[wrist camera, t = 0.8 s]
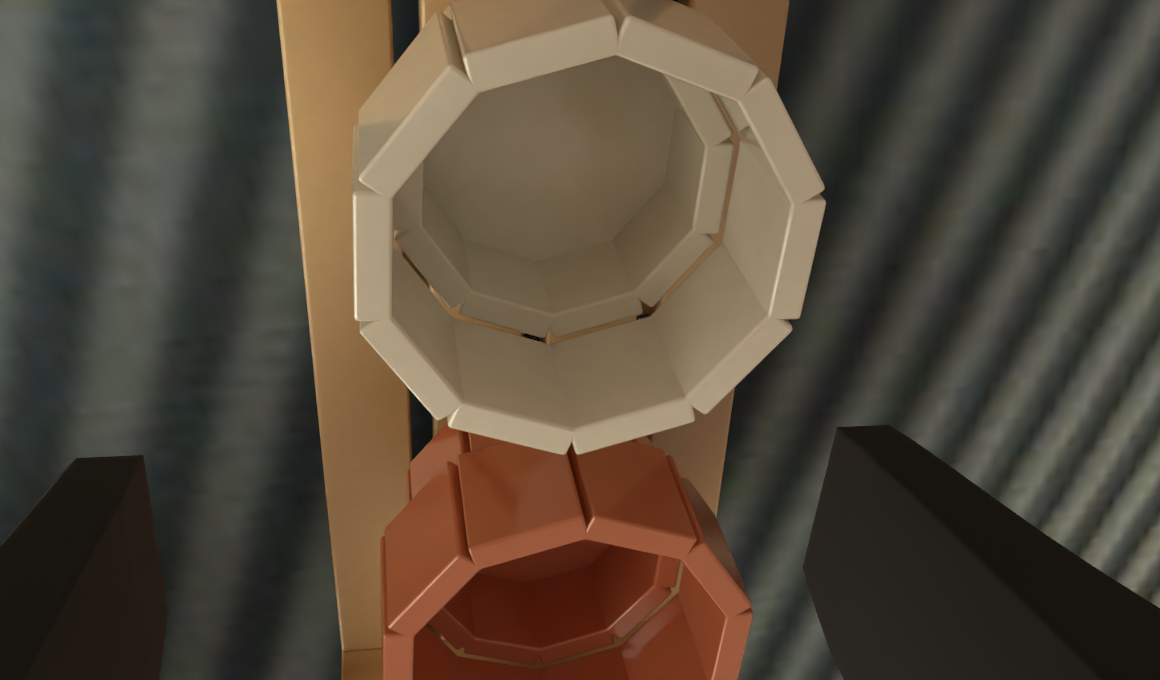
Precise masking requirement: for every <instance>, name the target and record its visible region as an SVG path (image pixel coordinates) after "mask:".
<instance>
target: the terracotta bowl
mask: <svg viewBox="0 0 1160 680" xmlns="http://www.w3.org/2000/svg"><path fill="white" fill-rule="evenodd" d="M681 560H682V562H683V563H684V566H683V571H682V576H681V581H680V587H679V592H678V593H677V594H676V595H675V596H674V597H673V598H672V599H671V600H670V601H668V602H667V603H666V604H665V605H664V606H663V607H662V608H661V609H660V610H659V611H658V612H656V613H655V614H654V615H653V616H652V617H651V618H650V619H649V620H648V621H647V622H646V623H644V624H643V625H642V626H641V627H640V628H639V629H638V630H637V631H636V632H635V633H634V634H632V635H631V636H630V637H629V638H628V639H627V640H626V641H625V642H624V643H623V644H622V645H621V646H617V647H614V648H611V649H607V650H604V651H600V652H597V653H593V654H590V655H586V656H583V657H579V658H576V659H573V660H569V661H566V662H562V663H559V664H555V665H552V666H548V667H545V668H541V669H533V668H527V667H521V666H515V665H509V664H503V663H497V662H491V661H485V660H479V659H473V658H467V657H461V656H457V655H456V654H455V653H454V652H453V651H452V650H451V649H450V648H449V647H448V646H447V645H446V644H445V643H444V642H443V641H442V640H440V639H439V638H438V637H437V636H436V635H435V634H434V633H433V632H432V631H431V630H430V629H429V628H428V627H427V626H426V624H427V623H429V624H430V625H431V626H432V627H433V628H434V629H435V630H436V631H437V632H438V633H440V634H441V635H442V636H443V637H444V638H445V639H446V640H447V641H448V642H449V643H450V644H451V645H452V646H453V647H454V648H455V649H456V650H459V649H461V648H462V647H463V650H464V653H465V654H470V655H476V656H482V657H488V658H494V659H500V660H506V661H512V662H518V663H524V664H530V665H534V664H535V663H536V661H537V659H538V657H539V659H540V661H541V663H542V664H546V663H550V662H553V661H557V660H560V659H564V658H567V657H570V656H574V655H577V654H581V653H584V652H588V651H591V650H595V649H598V648H602V647H605V646H609V645H612V644H614V638H613V636H615V637H617V638H619V639H623V638H624V637H625V636H626V635H627V634H628V633H629V632H630V631H631V630H633V629H634V628H635V627H636V626H637V625H638V624H639V623H640V622H641V621H642V620H643V619H645V618H646V617H647V616H648V615H649V614H650V613H651V612H652V611H653V610H654V609H655V608H656V607H658V606H659V605H660V604H661V603H662V602H663V601H664V600H665V599H666V598H667V597H668V596H669V595H671V593H672V591H671V587H675V586H676V583H677V578H678V573H679V567H680V562H681ZM751 607H752V605H751V601H750V599H749V596H748V594H747V591H746V589H745V587H744V584H743V582H742V579H741V577H740V575H739V572H738V570H737V567H736V565H735V562H734V560H733V558H732V555H731V553H730V550H729V548H728V546H727V543H726V541H725V538H724V536H723V534H722V531H721V529H720V526H719V524H718V522H717V519H716V517H715V515H714V513H713V512H712V510H711V509H710V508H709V506H708V505H707V503H706V502H705V501H704V499H703V498H702V497H701V495H700V494H699V492H698V491H697V490H696V488H695V487H694V486H693V484H692V483H691V481H690V480H689V479H688V477H687V476H686V474H685V473H684V472H683V470H682V469H681V468H680V466H679V465H678V463H677V462H676V461H675V459H674V458H673V456H671V455H667V456H665V454H664V451H663V450H662V449H660V448H656V447H654V445H653V444H652V443H651V441H650V440H649V439H648V437H647V436H643V437H640V438H636V439H633V440H629V441H626V442H622V443H619V444H615V445H612V446H608V447H605V448H601V449H598V450H594V451H591V452H587V453H584V454H580V455H577V454H576V453H575V451H574V447H573V444H572V443H571V445H570V447H569V449H568V451H567V452H566V454H565V455H560V454H556V453H552V452H548V451H544V450H540V449H536V448H531V447H527V446H523V445H519V444H515V443H511V442H507V441H503V440H498V439H494V438H490V437H486V436H482V435H478V434H474V433H469V432H465V431H461V430H457V429H453V428H450V427H449V426H448V422H447V423H446V424H445V425H444V426H443V427H442V429H441V430H440V431H439V432H438V433H437V434H436V435H435V436H434V437H433V438H432V439H431V441H430V442H429V443H428V444H427V445H426V446H425V447H424V448H423V449H422V450H421V451H420V453H419V454H418V455H417V456H416V457H415V458H414V459H413V460H412V461H411V462H410V469H409V470H407V472H406V506H405V507H404V508H403V509H402V510H401V511H400V513H399V514H398V515H397V516H396V517H395V518H394V519H393V520H392V521H391V522H390V523H389V524H388V525H387V526H386V528H385V536H383V537H381V539H380V623H381V665H382V680H738V676H739V672H740V668H741V664H742V659H743V655H744V651H745V647H746V643H747V639H748V635H749V631H750V627H751V622H752V618H753V612H752V609H751Z"/></svg>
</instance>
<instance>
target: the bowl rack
mask: <svg viewBox="0 0 1160 680" xmlns="http://www.w3.org/2000/svg"><path fill="white" fill-rule="evenodd" d="M452 1H456V0H418V16H419V33H420V32H421V30H422V29H423V28H424V26H425V25H426V24H427V23H428V21H429V20H430V19H431V17H432V16H433V15H434V14H435V13H436V12H437V11H440V12H442V13H443V12H444V11H445V9H446V8H447V7H448V6H449V4H450V3H451V2H452ZM789 1H790V0H677V3H680V4H682V5H685V6H687V7H689V8H692V9H694V10H697V11H699V12H702V13H704V14H706V15H708V16H709V17H710V18H711V19H712V20H713V21H714V22H715V23H716V25H718V26H720V27H721V28H722V29H723V30H724V31H725V32H726V33H727V34H728V35H729V36H730V37H731V38H732V39H733V40H734V41H735V43H736V44H737V45H738V46H739V47H740V48H741V49H742V50H743V51H744V52H745V53H746V54H747V55H748V56H749V57H750V58H751V59H752V60H753V61H754V62H755V63H756V64H757V65H758V66H759V67H760V68H761V69H762V70H763V71H764V72H765V73H766V74H767V75H768V76H769V77H770V78H771V80H772V82H773V84H774V86H775V88H776V90H777V86H778V79H779V72H780V65H781V57H782V50H783V43H784V36H785V29H786V22H787V15H788V8H789ZM276 2H277V11H278V21H279V31H280V41H281V51H282V61H283V71H284V81H285V91H286V101H287V111H288V121H289V131H290V141H291V151H292V161H293V171H294V181H295V191H296V201H297V211H298V221H299V231H300V241H301V251H302V261H303V271H304V281H305V291H306V301H307V311H308V321H309V331H310V341H311V351H312V361H313V371H314V381H315V390H316V400H317V410H318V420H319V430H320V440H321V450H322V460H323V470H324V480H325V490H326V500H327V510H328V520H329V530H330V540H331V550H332V560H333V570H334V580H335V590H336V600H337V610H338V620H339V630H340V640H341V648H342V675H341V680H382V665H381V623H380V539H381V537H383V536H385V528H386V526H387V525H388V524H389V523H390V522H391V521H392V520H393V519H394V518H395V517H396V516H397V515H398V514H399V513H400V511H401V510H402V509H403V508H404V507H405V506H406V472H407V470H409V469H410V462H411V461H412V460H413V457H412V435H411V414H410V392H409V388H408V387H407V386H406V385H405V384H404V383H403V382H402V380H401V379H400V378H399V377H398V376H397V375H396V374H395V372H394V371H393V370H392V369H391V368H390V367H389V366H388V365H387V363H386V362H385V361H384V360H383V359H382V358H381V357H380V355H379V354H378V353H377V352H376V351H375V350H374V349H373V347H372V346H371V345H370V344H369V343H368V342H367V341H366V340H365V338H364V337H363V336H362V335H361V334H360V331H359V321H356V320H355V318H354V301H353V224H352V159H353V127H354V125H356V124H358V112H359V110H360V108H361V107H362V106H363V104H364V103H365V102H366V101H367V99H368V98H369V97H370V95H371V94H372V93H373V92H374V90H375V89H376V88H377V87H378V85H379V84H380V83H381V81H382V80H383V79H384V78H385V76H386V75H387V74H388V72H389V71H390V70H391V69H392V67H393V66H394V44H393V22H392V1H391V0H276ZM713 95H714V97H715V99H716V101H717V103H718V104H719V106H720V108H721V110H722V112H723V114H724V116H725V117H726V119H727V121H728V123H729V125H730V127H731V128H732V130H733V135H732V136H731V137H729V138H730V139H731V140H732V142H733V143H734V145H735V149H734V154H733V160H732V166H731V171H730V177H729V182H728V188H727V194H726V199H725V205H724V211H723V216H722V222H721V228H720V232H719V233H718V234H710V235H711V237H712V238H713V240H714V243H713V245H712V246H711V247H710V248H709V249H708V250H707V251H706V252H705V253H704V254H703V255H702V256H701V257H700V258H699V259H698V260H697V262H696V263H695V264H694V265H693V266H692V267H691V268H690V269H689V270H688V271H687V272H686V273H685V274H684V275H683V276H682V277H681V278H680V279H679V280H678V281H677V282H676V283H675V285H674V286H673V287H672V288H671V289H670V290H669V291H668V292H667V293H666V294H665V295H664V296H663V297H662V298H661V299H660V300H659V301H658V302H657V303H656V304H655V305H654V306H653V307H652V308H651V307H649V306H647V305H646V304H644V303H643V302H642V301H641V304H642V309H643V312H642V314H640V315H650V316H651V315H652V314H653V313H654V312H655V311H656V310H657V309H658V308H659V307H660V306H661V305H662V303H663V302H664V301H665V300H666V299H667V298H668V297H669V296H670V295H671V294H672V293H673V292H674V291H675V290H676V289H677V288H678V287H679V286H680V285H681V284H682V283H683V282H684V281H685V280H686V278H687V277H688V276H689V275H690V274H691V273H692V272H693V271H694V270H695V269H696V268H697V267H698V266H699V265H700V264H701V263H702V262H703V261H704V260H705V259H706V258H707V257H708V256H709V254H710V253H711V252H712V251H713V250H714V249H715V248H716V247H717V246H718V245H719V244H720V243H721V242H722V241H723V235H724V230H725V224H726V219H727V213H728V207H729V202H730V196H731V191H732V185H733V180H734V174H735V168H736V163H737V157H738V152H739V146H740V141H741V140H740V138H739V137H738V135H737V133H736V131H735V129H734V127H733V125H732V124H731V122H730V120H729V118H728V116H727V114H726V113H725V111H724V109H723V107H722V105H721V103H720V101H719V100H718V98H717V96H716V94H715V93H713ZM393 245H394V246H395V247H396V248H397V250H398V251H399V252H400V253H401V255H402V256H403V257H404V258H405V260H406V261H407V262H408V263H409V265H410V266H411V267H412V268H413V270H414V271H415V272H416V273H417V274H418V276H419V277H420V278H421V279H422V281H423V282H424V283H425V284H426V286H427V287H428V288H429V289H430V291H431V292H432V293H433V294H434V296H435V297H436V298H437V299H438V301H439V302H440V303H441V304H442V305H443V307H444V308H445V309H446V310H447V312H448V313H449V314H450V315H451V317H453V318H457V319H461V320H464V321H468V322H471V323H475V324H478V325H482V326H486V327H489V328H493V329H496V330H500V331H504V332H507V333H511V334H514V335H518V336H521V337H523V333H522V332H519V331H515V330H512V329H508V328H505V327H501V326H497V325H494V324H490V323H487V322H483V321H480V320H476V319H472V318H469V317H465V316H462V315H460V314H459V313H458V307H457V306H455V307H453V308H449V307H448V306H447V305H446V304H445V302H444V301H443V300H442V299H441V297H440V296H439V295H438V294H437V292H436V291H435V290H434V289H433V287H432V286H431V285H430V284H429V283H428V281H427V280H426V279H425V278H424V276H423V275H422V274H421V273H420V271H419V270H418V269H417V268H416V266H415V265H414V264H413V263H412V261H411V260H410V259H409V258H408V256H407V255H406V254H405V253H404V251H403V250H402V249H401V248H400V246H399V245H398V244H397V243H396V241H395V237H394V230H393ZM635 320H637V316H634V317H630V318H626V319H623V320H619V321H616V322H612V323H609V324H605V325H602V326H598V327H594V328H591V329H587V330H584V331H580V332H577V333H573V334H570V335H566V336H563V337H559V338H555V337H554V336H553V334H552V331H551V327H550V329H549V332H548V334H547V336H546V337H545V338H540V342H543V343H547V344H553V343H557V342H560V341H564V340H567V339H571V338H574V337H578V336H581V335H585V334H589V333H592V332H596V331H599V330H603V329H606V328H610V327H613V326H617V325H621V324H624V323H628V322H631V321H635ZM734 389H735V387H734V388H733V389H732V390H731V391H730V392H729V393H728V394H727V395H726V396H725V397H724V398H723V399H722V400H721V401H720V402H719V403H718V404H717V405H716V406H715V407H714V408H713V409H712V410H711V411H710V412H709V413H708V414H703V413H701V412H700V411H698V410H697V409H695V408H694V407H693V408H694V413H695V421H694V422H693V423H689V424H685V425H682V426H678V427H675V428H671V429H668V430H664V431H661V432H657V433H654V434H650V435H647V437H648V439H649V440H650V441H651V443H652V444H653V445H654V447H656V448H660V449H662V450H663V451H664V454H665V456H667V455H671V456H673V458H674V459H675V461H676V462H677V463H678V465H679V466H680V468H681V469H682V470H683V472H684V473H685V474H686V476H687V477H688V479H689V480H690V481H691V483H692V484H693V486H694V487H695V488H696V490H697V491H698V492H699V494H700V495H701V497H702V498H703V499H704V501H705V502H706V503H707V505H708V506H709V508H710V509H711V510H712V512H713V513H714V515H715V517H716V516H717V509H718V502H719V495H720V488H721V481H722V474H723V467H724V460H725V453H726V446H727V439H728V432H729V425H730V418H731V411H732V403H733V396H734ZM446 423H447V416H446V417H445V418H443V419H441V420H436V419H435V418H434V417H433V416H432V433H433V437H434V436H435V435H436V434H437V433H438V432H439V431H440V430H441V429H442V427H443V426H444V425H445V424H446ZM683 566H684V563H683V562H682V560H681V562H680V567H679V573H678V578H677V583H676V586H675V587H671V591H672V593H671V595H669V596H668V597H667V598H666V599H665V600H664V601H663V602H662V603H661V604H660V605H659V606H658V607H656V608H655V609H654V610H653V611H652V612H651V613H650V614H649V615H648V616H647V617H646V618H645V619H643V620H642V621H641V622H640V623H639V624H638V625H637V626H636V627H635V628H634V629H633V630H631V631H630V632H629V633H628V634H627V635H626V636H625V637H624V638H623V639H619V638H617V637H615V636H613V638H614V644H612V645H609V646H605V647H602V648H598V649H595V650H591V651H588V652H584V653H581V654H577V655H574V656H570V657H567V658H564V659H560V660H557V661H553V662H550V663H546V664H542V663H541V661H540V659H539V657H538V659H537V661H536V663H535V664H534V665H530V664H524V663H518V662H512V661H506V660H500V659H494V658H488V657H482V656H476V655H470V654H465V653H464V650H463V647H462V648H461V649H459V650H456V649H455V648H454V647H453V646H452V645H451V644H450V643H449V642H448V641H447V640H446V639H445V638H444V637H443V636H442V635H441V634H440V633H438V632H437V631H436V630H435V629H434V628H433V627H432V626H431V625H430V624H429V623H427V624H426V626H427V627H428V628H429V629H430V630H431V631H432V632H433V633H434V634H435V635H436V636H437V637H438V638H439V639H440V640H442V641H443V642H444V643H445V644H446V645H447V646H448V647H449V648H450V649H451V650H452V651H453V652H454V653H455V654H456V655H457V656H461V657H467V658H473V659H479V660H485V661H491V662H497V663H503V664H509V665H515V666H521V667H527V668H533V669H541V668H545V667H548V666H552V665H555V664H559V663H562V662H566V661H569V660H573V659H576V658H579V657H583V656H586V655H590V654H593V653H597V652H600V651H604V650H607V649H611V648H614V647H617V646H621V645H622V644H623V643H624V642H625V641H626V640H627V639H628V638H629V637H630V636H631V635H632V634H634V633H635V632H636V631H637V630H638V629H639V628H640V627H641V626H642V625H643V624H644V623H646V622H647V621H648V620H649V619H650V618H651V617H652V616H653V615H654V614H655V613H656V612H658V611H659V610H660V609H661V608H662V607H663V606H664V605H665V604H666V603H667V602H668V601H670V600H671V599H672V598H673V597H674V596H675V595H676V594H677V593H678V592H679V587H680V581H681V576H682V571H683Z"/></svg>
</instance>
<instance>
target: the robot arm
mask: <svg viewBox="0 0 1160 680" xmlns="http://www.w3.org/2000/svg"><path fill="white" fill-rule="evenodd" d="M803 570H804V573H805V576H806V580H807V583H808V586H809V589H810V593H811V596H812V599H813V602H814V605H815V609H816V612H817V615H818V618H819V620H820V623H821V626H822V629H823V632H824V635H825V638H826V641H827V643H828V646H829V649H830V651H831V654H832V656H833V658H834V660H835V662H836V664H837V666H838V669H839V671H840V673H841V675H842V677H843V679H844V680H1160V608H1159V607H1157V606H1155V605H1154V604H1152V603H1150V602H1149V601H1147V600H1145V599H1144V598H1142V597H1141V596H1139V595H1137V594H1136V593H1134V592H1133V591H1131V590H1130V589H1128V588H1126V587H1125V586H1123V585H1122V584H1120V583H1118V582H1117V581H1115V580H1114V579H1112V578H1111V577H1109V576H1107V575H1106V574H1104V573H1103V572H1101V571H1100V570H1098V569H1096V568H1095V567H1093V566H1092V565H1090V564H1089V563H1087V562H1086V561H1084V560H1083V559H1081V558H1080V557H1078V556H1077V555H1075V554H1074V553H1072V552H1071V551H1069V550H1068V549H1066V548H1065V547H1063V546H1062V545H1060V544H1059V543H1057V542H1056V541H1054V540H1053V539H1051V538H1050V537H1049V536H1047V535H1046V534H1044V533H1043V532H1041V531H1040V530H1038V529H1037V528H1036V527H1034V526H1033V525H1031V524H1030V523H1028V522H1027V521H1026V520H1024V519H1023V518H1021V517H1020V516H1018V515H1017V514H1016V513H1014V512H1013V511H1011V510H1010V509H1009V508H1007V507H1006V506H1004V505H1003V504H1002V503H1000V502H999V501H997V500H996V499H995V498H993V497H992V496H990V495H989V494H988V493H986V492H985V491H983V490H982V489H981V488H979V487H978V486H977V485H975V484H974V483H972V482H971V481H970V480H968V479H967V478H965V477H964V476H963V475H961V474H960V473H959V472H957V471H956V470H954V469H953V468H952V467H950V466H949V465H947V464H946V463H945V462H943V461H942V460H940V459H939V458H937V457H936V456H935V455H933V454H932V453H930V452H929V451H928V450H926V449H925V448H923V447H922V446H920V445H919V444H917V443H916V442H915V441H913V440H912V439H910V438H909V437H907V436H905V435H904V434H902V433H901V432H899V431H898V430H896V429H894V428H893V427H891V426H889V425H880V426H855V427H837V429H836V433H835V438H834V442H833V446H832V450H831V454H830V458H829V462H828V466H827V470H826V474H825V478H824V483H823V487H822V491H821V495H820V499H819V503H818V507H817V511H816V515H815V519H814V523H813V527H812V532H811V536H810V540H809V544H808V548H807V552H806V556H805V560H804V564H803ZM166 618H167V603H166V597H165V591H164V584H163V578H162V572H161V565H160V559H159V553H158V546H157V540H156V534H155V527H154V521H153V515H152V508H151V502H150V496H149V489H148V483H147V477H146V470H145V464H144V458H143V455H141V456H116V457H92V458H76V459H75V460H74V461H73V462H72V463H71V464H70V465H69V466H68V467H67V468H66V469H65V470H64V471H63V472H62V473H61V474H60V476H59V477H58V478H57V479H56V480H55V481H54V482H53V484H52V485H51V486H50V487H49V488H48V489H47V491H46V492H45V493H44V494H43V495H42V496H41V498H40V499H39V500H38V501H37V502H36V503H35V505H34V506H33V507H32V508H31V509H30V510H29V512H28V513H27V514H26V515H25V516H24V517H23V519H22V520H21V521H20V522H19V523H18V524H17V525H16V527H15V528H14V529H13V530H12V531H11V532H10V533H9V535H8V536H7V537H6V538H5V539H4V540H3V541H2V542H1V544H0V680H159V677H160V670H161V662H162V653H163V644H164V636H165V627H166Z"/></svg>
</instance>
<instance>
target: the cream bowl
mask: <svg viewBox="0 0 1160 680" xmlns="http://www.w3.org/2000/svg"><path fill="white" fill-rule="evenodd" d="M713 93H715V94H716V96H717V98H718V100H719V101H720V103H721V105H722V107H723V109H724V111H725V113H726V114H727V116H728V118H729V120H730V122H731V124H732V125H733V127H734V129H735V131H736V133H737V135H738V137H739V138H740V140H741V141H740V146H739V152H738V157H737V163H736V168H735V174H734V180H733V185H732V191H731V196H730V202H729V207H728V213H727V219H726V224H725V230H724V235H723V241H722V242H721V243H720V244H719V245H718V246H717V247H716V248H715V249H714V250H713V251H712V252H711V253H710V254H709V256H708V257H707V258H706V259H705V260H704V261H703V262H702V263H701V264H700V265H699V266H698V267H697V268H696V269H695V270H694V271H693V272H692V273H691V274H690V275H689V276H688V277H687V278H686V280H685V281H684V282H683V283H682V284H681V285H680V286H679V287H678V288H677V289H676V290H675V291H674V292H673V293H672V294H671V295H670V296H669V297H668V298H667V299H666V300H665V301H664V302H663V303H662V305H661V306H660V307H659V308H658V309H657V310H656V311H655V312H654V313H653V314H652V315H651V316H649V317H645V318H642V319H638V320H635V321H631V322H628V323H624V324H621V325H617V326H613V327H610V328H606V329H603V330H599V331H596V332H592V333H589V334H585V335H581V336H578V337H574V338H571V339H567V340H564V341H560V342H557V343H553V344H547V343H543V342H539V341H536V340H532V339H529V338H525V337H521V336H518V335H514V334H511V333H507V332H504V331H500V330H496V329H493V328H489V327H486V326H482V325H478V324H475V323H471V322H468V321H464V320H461V319H457V318H453V317H451V315H450V314H449V313H448V312H447V310H446V309H445V308H444V307H443V305H442V304H441V303H440V302H439V301H438V299H437V298H436V297H435V296H434V294H433V293H432V292H431V291H430V289H429V288H428V287H427V286H426V284H425V283H424V282H423V281H422V279H421V278H420V277H419V276H418V274H417V273H416V272H415V271H414V270H413V268H412V267H411V266H410V265H409V263H408V262H407V261H406V260H405V258H404V257H403V256H402V255H401V253H400V252H399V251H398V250H397V248H396V247H395V246H394V245H393V230H394V237H395V241H396V243H397V244H398V245H399V246H400V248H401V249H402V250H403V251H404V253H405V254H406V255H407V256H408V258H409V259H410V260H411V261H412V263H413V264H414V265H415V266H416V268H417V269H418V270H419V271H420V273H421V274H422V275H423V276H424V278H425V279H426V280H427V281H428V283H429V284H430V285H431V286H432V287H433V289H434V290H435V291H436V292H437V294H438V295H439V296H440V297H441V299H442V300H443V301H444V302H445V304H446V305H447V306H448V307H449V308H453V307H455V306H457V307H458V313H459V314H460V315H462V316H465V317H469V318H472V319H476V320H480V321H483V322H487V323H490V324H494V325H497V326H501V327H505V328H508V329H512V330H515V331H519V332H522V333H526V334H530V335H533V336H537V337H540V338H545V337H546V336H547V334H548V332H549V329H550V327H551V331H552V334H553V336H554V337H555V338H559V337H563V336H566V335H570V334H573V333H577V332H580V331H584V330H587V329H591V328H594V327H598V326H602V325H605V324H609V323H612V322H616V321H619V320H623V319H626V318H630V317H634V316H637V315H640V314H642V312H643V309H642V304H641V301H642V302H643V303H644V304H646V305H647V306H649V307H651V308H652V307H653V306H654V305H655V304H656V303H657V302H658V301H659V300H660V299H661V298H662V297H663V296H664V295H665V294H666V293H667V292H668V291H669V290H670V289H671V288H672V287H673V286H674V285H675V283H676V282H677V281H678V280H679V279H680V278H681V277H682V276H683V275H684V274H685V273H686V272H687V271H688V270H689V269H690V268H691V267H692V266H693V265H694V264H695V263H696V262H697V260H698V259H699V258H700V257H701V256H702V255H703V254H704V253H705V252H706V251H707V250H708V249H709V248H710V247H711V246H712V245H713V243H714V240H713V238H712V237H711V235H710V234H718V233H719V232H720V228H721V222H722V216H723V211H724V205H725V199H726V194H727V188H728V182H729V177H730V171H731V166H732V160H733V154H734V149H735V145H734V143H733V142H732V140H731V139H730V138H729V137H731V136H732V135H733V130H732V128H731V127H730V125H729V123H728V121H727V119H726V117H725V116H724V114H723V112H722V110H721V108H720V106H719V104H718V103H717V101H716V99H715V97H714V95H713ZM823 190H824V183H823V181H822V179H821V177H820V175H819V173H818V171H817V169H816V167H815V165H814V163H813V161H812V159H811V157H810V155H809V153H808V151H807V149H806V147H805V145H804V143H803V142H802V140H801V138H800V136H799V134H798V132H797V130H796V128H795V126H794V124H793V122H792V120H791V118H790V116H789V114H788V112H787V110H786V108H785V106H784V104H783V102H782V100H781V98H780V96H779V94H778V92H777V90H776V88H775V86H774V84H773V82H772V80H771V78H770V77H769V76H768V75H767V74H766V73H765V72H764V71H763V70H762V69H761V68H760V67H759V66H758V65H757V64H756V63H755V62H754V61H753V60H752V59H751V58H750V57H749V56H748V55H747V54H746V53H745V52H744V51H743V50H742V49H741V48H740V47H739V46H738V45H737V44H736V43H735V41H734V40H733V39H732V38H731V37H730V36H729V35H728V34H727V33H726V32H725V31H724V30H723V29H722V28H721V27H720V26H718V25H716V23H715V22H714V21H713V20H712V19H711V18H710V17H709V16H708V15H706V14H704V13H702V12H699V11H697V10H694V9H692V8H689V7H687V6H685V5H682V4H680V3H677V2H675V1H673V0H456V1H452V2H451V3H450V4H449V6H448V7H447V8H446V9H445V11H444V12H443V13H442V12H440V11H437V12H436V13H435V14H434V15H433V16H432V17H431V19H430V20H429V21H428V23H427V24H426V25H425V26H424V28H423V29H422V30H421V32H420V33H419V34H418V35H417V37H416V38H415V39H414V40H413V42H412V43H411V44H410V46H409V47H408V48H407V49H406V51H405V52H404V53H403V55H402V56H401V57H400V58H399V60H398V61H397V62H396V63H395V65H394V66H393V67H392V69H391V70H390V71H389V72H388V74H387V75H386V76H385V78H384V79H383V80H382V81H381V83H380V84H379V85H378V87H377V88H376V89H375V90H374V92H373V93H372V94H371V95H370V97H369V98H368V99H367V101H366V102H365V103H364V104H363V106H362V107H361V108H360V110H359V112H358V124H356V125H354V127H353V159H352V224H353V301H354V318H355V320H356V321H359V331H360V334H361V335H362V336H363V337H364V338H365V340H366V341H367V342H368V343H369V344H370V345H371V346H372V347H373V349H374V350H375V351H376V352H377V353H378V354H379V355H380V357H381V358H382V359H383V360H384V361H385V362H386V363H387V365H388V366H389V367H390V368H391V369H392V370H393V371H394V372H395V374H396V375H397V376H398V377H399V378H400V379H401V380H402V382H403V383H404V384H405V385H406V386H407V387H408V388H409V390H410V391H411V392H412V393H413V394H414V395H415V396H416V397H417V399H418V400H419V401H420V402H421V403H422V404H423V405H424V407H425V408H426V409H427V410H428V411H429V412H430V413H431V414H432V416H433V417H434V418H435V419H436V420H441V419H443V418H445V417H446V416H447V422H448V426H449V427H450V428H453V429H457V430H461V431H465V432H469V433H474V434H478V435H482V436H486V437H490V438H494V439H498V440H503V441H507V442H511V443H515V444H519V445H523V446H527V447H531V448H536V449H540V450H544V451H548V452H552V453H556V454H560V455H565V454H566V452H567V451H568V449H569V447H570V445H571V443H572V444H573V447H574V451H575V453H576V454H577V455H580V454H584V453H587V452H591V451H594V450H598V449H601V448H605V447H608V446H612V445H615V444H619V443H622V442H626V441H629V440H633V439H636V438H640V437H643V436H647V435H650V434H654V433H657V432H661V431H664V430H668V429H671V428H675V427H678V426H682V425H685V424H689V423H693V422H694V421H695V413H694V408H695V409H697V410H698V411H700V412H701V413H703V414H708V413H709V412H710V411H711V410H712V409H713V408H714V407H715V406H716V405H717V404H718V403H719V402H720V401H721V400H722V399H723V398H724V397H725V396H726V395H727V394H728V393H729V392H730V391H731V390H732V389H733V388H734V387H735V386H736V385H737V384H738V383H739V382H741V381H742V380H743V379H744V378H745V377H746V376H747V375H748V374H749V373H750V372H751V371H752V370H753V369H754V368H755V367H756V366H757V365H758V364H759V363H760V362H761V361H762V360H763V359H764V358H765V357H766V356H767V355H768V354H769V353H770V352H771V351H772V350H773V349H774V348H775V347H776V346H777V345H778V344H779V343H780V342H781V341H782V340H783V339H784V338H785V337H786V336H787V335H788V334H790V333H791V331H792V330H793V328H792V326H791V324H790V323H789V321H788V319H798V318H800V315H801V311H802V307H803V302H804V298H805V294H806V289H807V285H808V281H809V276H810V272H811V267H812V263H813V259H814V254H815V250H816V246H817V241H818V237H819V233H820V228H821V224H822V220H823V215H824V211H825V206H826V200H825V199H824V198H823V197H822V196H821V194H820V193H821V192H822V191H823ZM693 407H694V408H693Z"/></svg>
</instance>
